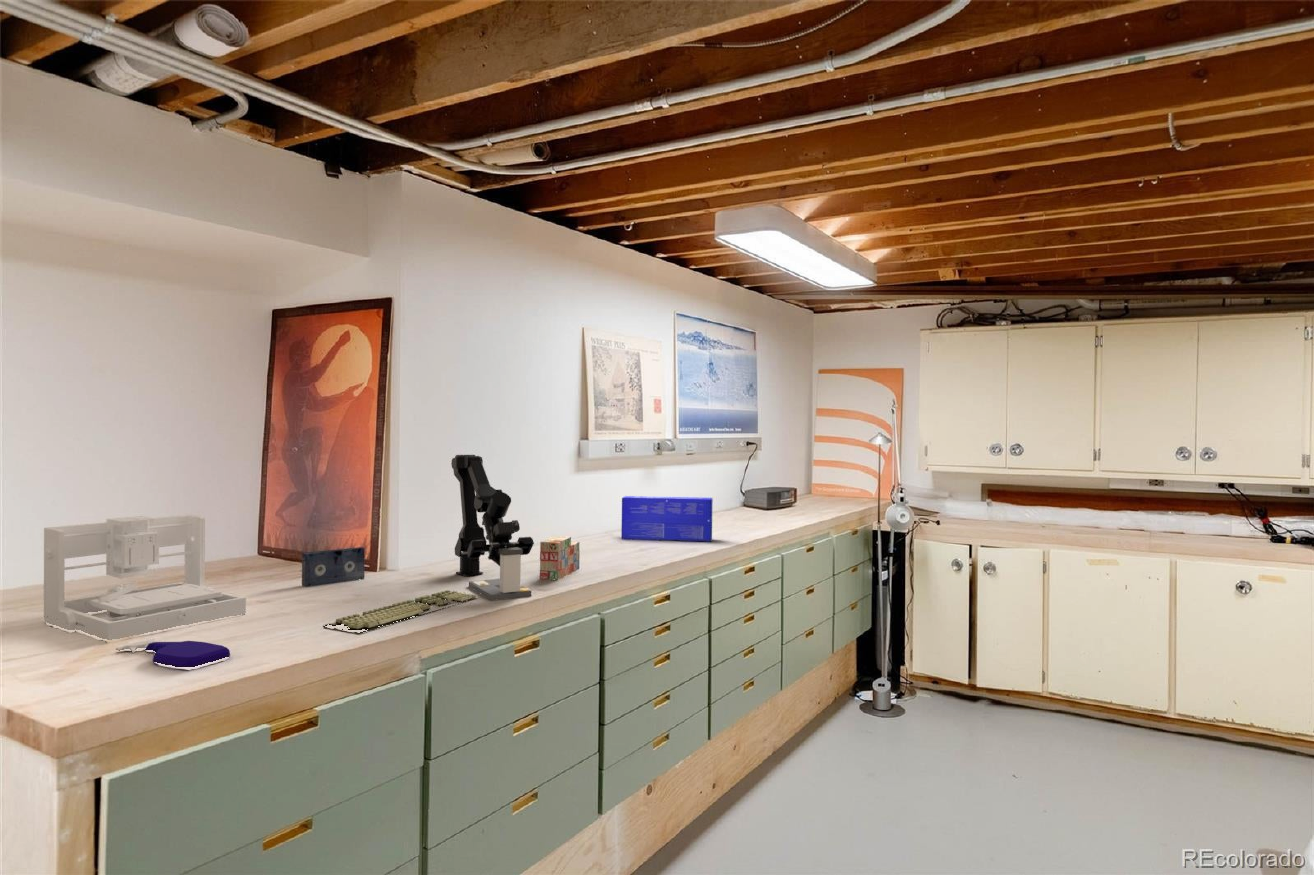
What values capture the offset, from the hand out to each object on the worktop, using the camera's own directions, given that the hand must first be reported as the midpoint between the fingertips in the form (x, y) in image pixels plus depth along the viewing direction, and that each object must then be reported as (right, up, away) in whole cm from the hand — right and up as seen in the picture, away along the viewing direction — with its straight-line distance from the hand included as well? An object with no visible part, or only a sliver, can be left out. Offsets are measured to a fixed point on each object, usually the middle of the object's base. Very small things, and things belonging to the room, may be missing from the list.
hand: (507, 571), depth 222 cm
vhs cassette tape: (-56, -6, +13) cm, 57 cm away
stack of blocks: (+11, -7, +34) cm, 36 cm away
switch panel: (-4, -7, +6) cm, 10 cm away
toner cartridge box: (+47, -6, +112) cm, 122 cm away
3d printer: (-82, -7, -32) cm, 89 cm away
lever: (+1, -5, -2) cm, 6 cm away
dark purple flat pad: (-58, -8, -61) cm, 85 cm away
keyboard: (-23, -8, -19) cm, 31 cm away
